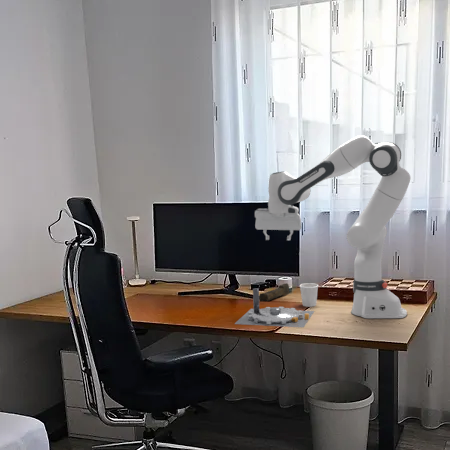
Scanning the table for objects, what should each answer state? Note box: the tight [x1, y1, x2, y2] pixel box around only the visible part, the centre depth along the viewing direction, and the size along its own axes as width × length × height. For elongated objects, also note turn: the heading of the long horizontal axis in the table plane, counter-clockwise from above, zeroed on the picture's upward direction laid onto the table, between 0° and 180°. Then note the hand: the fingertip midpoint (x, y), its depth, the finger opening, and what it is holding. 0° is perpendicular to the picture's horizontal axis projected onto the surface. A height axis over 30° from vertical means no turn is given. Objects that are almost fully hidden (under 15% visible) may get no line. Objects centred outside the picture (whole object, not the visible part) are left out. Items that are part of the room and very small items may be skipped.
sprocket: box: [248, 288, 303, 324], centre depth 239 cm, size 23×23×12 cm
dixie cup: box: [299, 282, 319, 308], centre depth 258 cm, size 8×8×10 cm
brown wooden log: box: [259, 283, 290, 303], centre depth 279 cm, size 23×5×6 cm, turn 139°
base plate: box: [234, 308, 315, 328], centre depth 240 cm, size 28×25×3 cm
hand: (278, 239), depth 257 cm, fingers open, 8 cm apart
